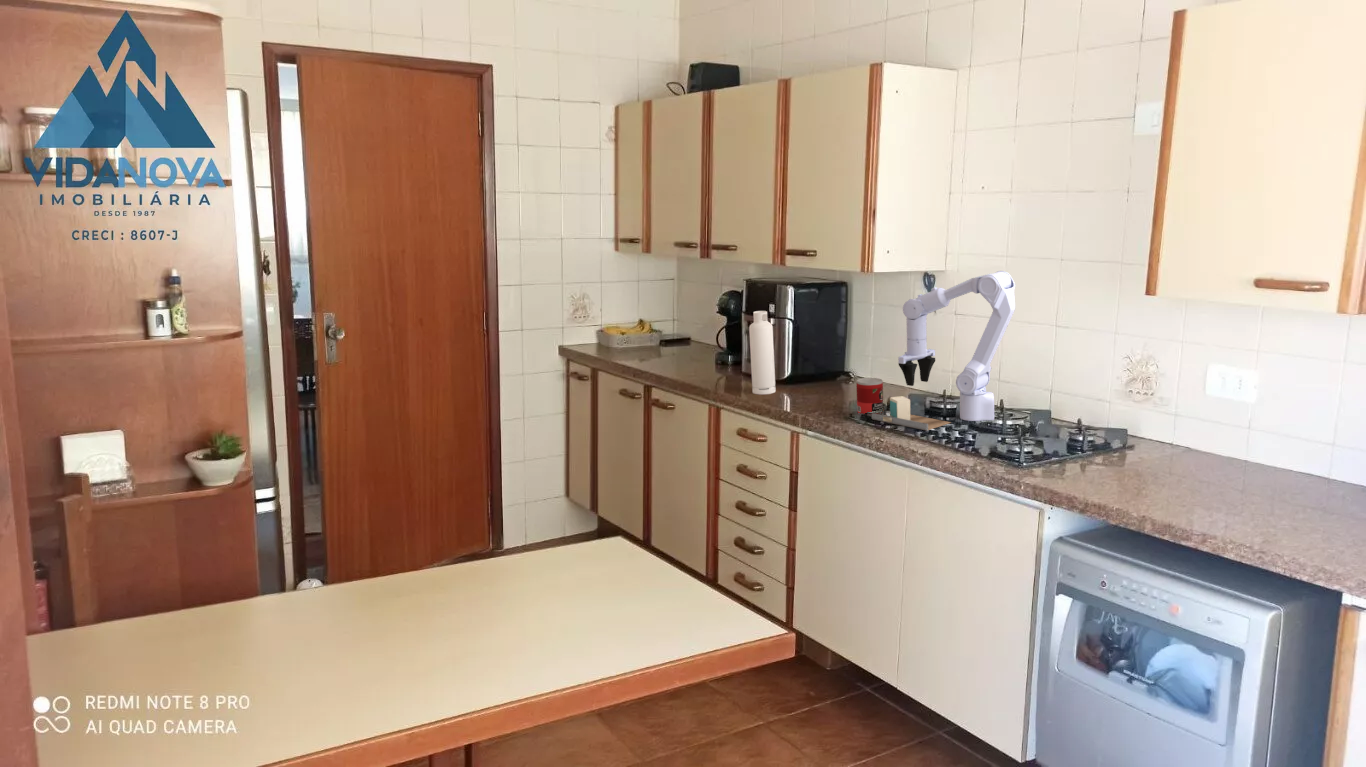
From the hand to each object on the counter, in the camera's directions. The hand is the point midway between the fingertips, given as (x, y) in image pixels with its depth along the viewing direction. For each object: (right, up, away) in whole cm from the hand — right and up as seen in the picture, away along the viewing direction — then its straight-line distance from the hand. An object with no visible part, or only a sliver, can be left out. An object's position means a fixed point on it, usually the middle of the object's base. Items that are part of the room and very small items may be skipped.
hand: (917, 383), depth 281 cm
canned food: (-13, -10, +6) cm, 17 cm away
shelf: (-4, -12, -8) cm, 15 cm away
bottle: (-42, -3, +46) cm, 62 cm away
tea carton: (-6, -10, -6) cm, 13 cm away
